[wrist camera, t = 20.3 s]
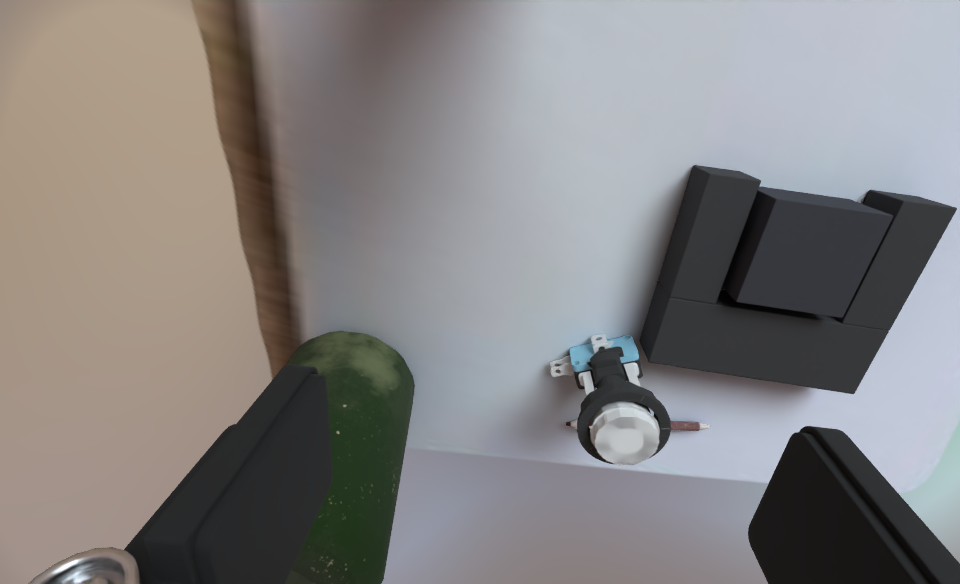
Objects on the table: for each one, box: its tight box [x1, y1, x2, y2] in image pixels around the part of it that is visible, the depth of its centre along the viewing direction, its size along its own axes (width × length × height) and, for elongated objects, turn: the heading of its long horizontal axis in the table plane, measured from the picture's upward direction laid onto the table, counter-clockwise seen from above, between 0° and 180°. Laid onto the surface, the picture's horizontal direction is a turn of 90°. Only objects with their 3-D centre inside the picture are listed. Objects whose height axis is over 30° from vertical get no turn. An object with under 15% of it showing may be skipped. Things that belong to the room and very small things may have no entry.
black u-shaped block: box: [640, 165, 957, 394], centre depth 31 cm, size 13×14×3 cm
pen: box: [566, 420, 711, 431], centre depth 38 cm, size 11×1×1 cm, turn 93°
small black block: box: [722, 187, 893, 318], centre depth 30 cm, size 6×6×4 cm
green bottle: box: [285, 331, 415, 584], centre depth 27 cm, size 10×10×25 cm
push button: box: [550, 334, 671, 465], centre depth 32 cm, size 7×5×10 cm
